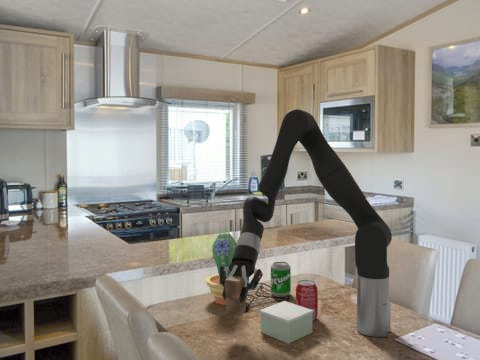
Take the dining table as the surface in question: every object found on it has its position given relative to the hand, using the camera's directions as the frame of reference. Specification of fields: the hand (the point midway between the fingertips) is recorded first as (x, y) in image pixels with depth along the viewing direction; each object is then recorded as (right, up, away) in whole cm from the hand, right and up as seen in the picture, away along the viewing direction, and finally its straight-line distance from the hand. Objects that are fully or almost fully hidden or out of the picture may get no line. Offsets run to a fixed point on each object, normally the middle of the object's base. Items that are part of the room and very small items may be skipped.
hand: (233, 299), depth 125 cm
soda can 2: (+24, -10, +15) cm, 30 cm away
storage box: (+16, -11, +5) cm, 20 cm away
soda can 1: (+18, -9, +39) cm, 44 cm away
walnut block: (+1, -4, +2) cm, 5 cm away
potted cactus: (-3, -10, +33) cm, 34 cm away
